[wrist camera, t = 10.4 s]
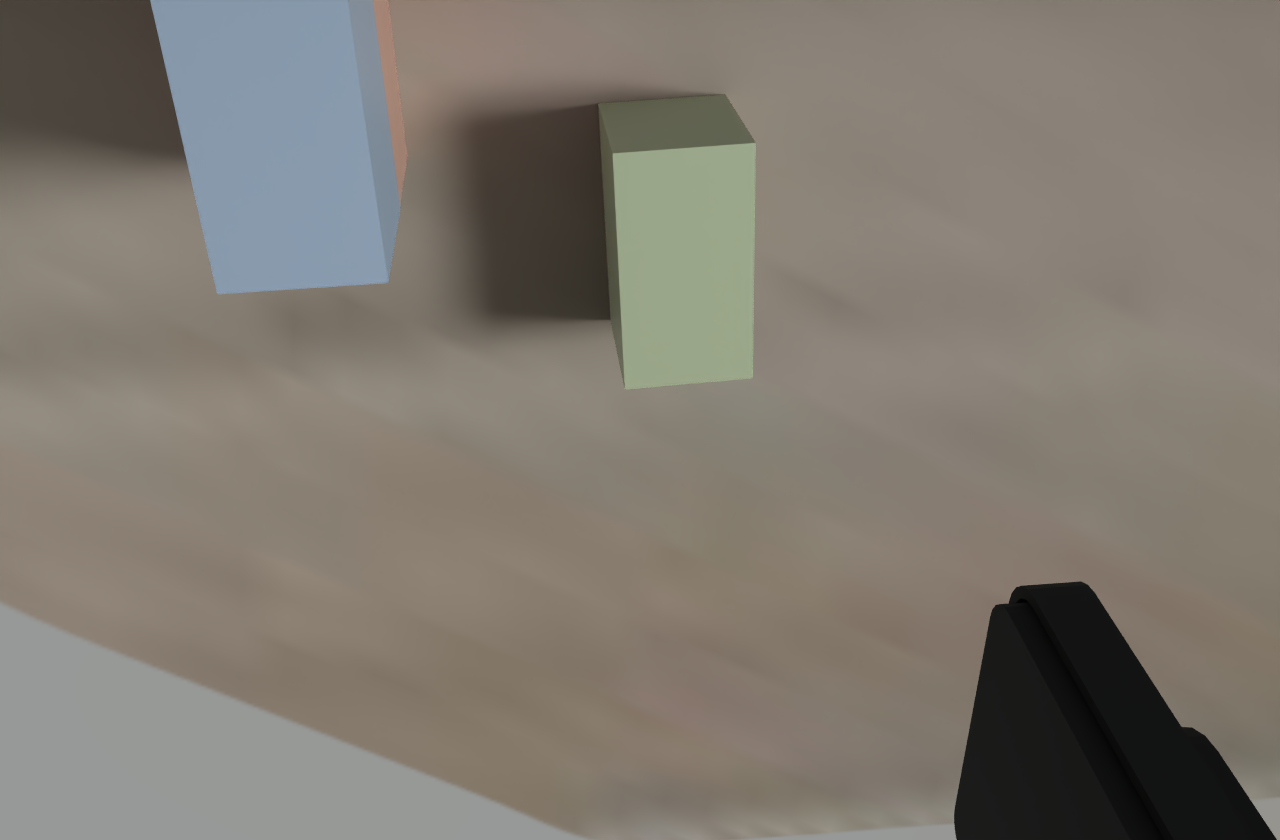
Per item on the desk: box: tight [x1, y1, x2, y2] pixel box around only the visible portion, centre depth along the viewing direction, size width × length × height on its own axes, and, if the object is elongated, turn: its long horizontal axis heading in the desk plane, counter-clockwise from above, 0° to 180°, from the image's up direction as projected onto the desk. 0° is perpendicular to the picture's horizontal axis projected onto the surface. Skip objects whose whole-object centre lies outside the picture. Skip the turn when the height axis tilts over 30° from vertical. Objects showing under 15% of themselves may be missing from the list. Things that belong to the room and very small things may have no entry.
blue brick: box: [150, 0, 401, 294], centre depth 23 cm, size 3×6×4 cm, turn 1°
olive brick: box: [598, 94, 756, 390], centre depth 29 cm, size 3×6×4 cm, turn 2°
